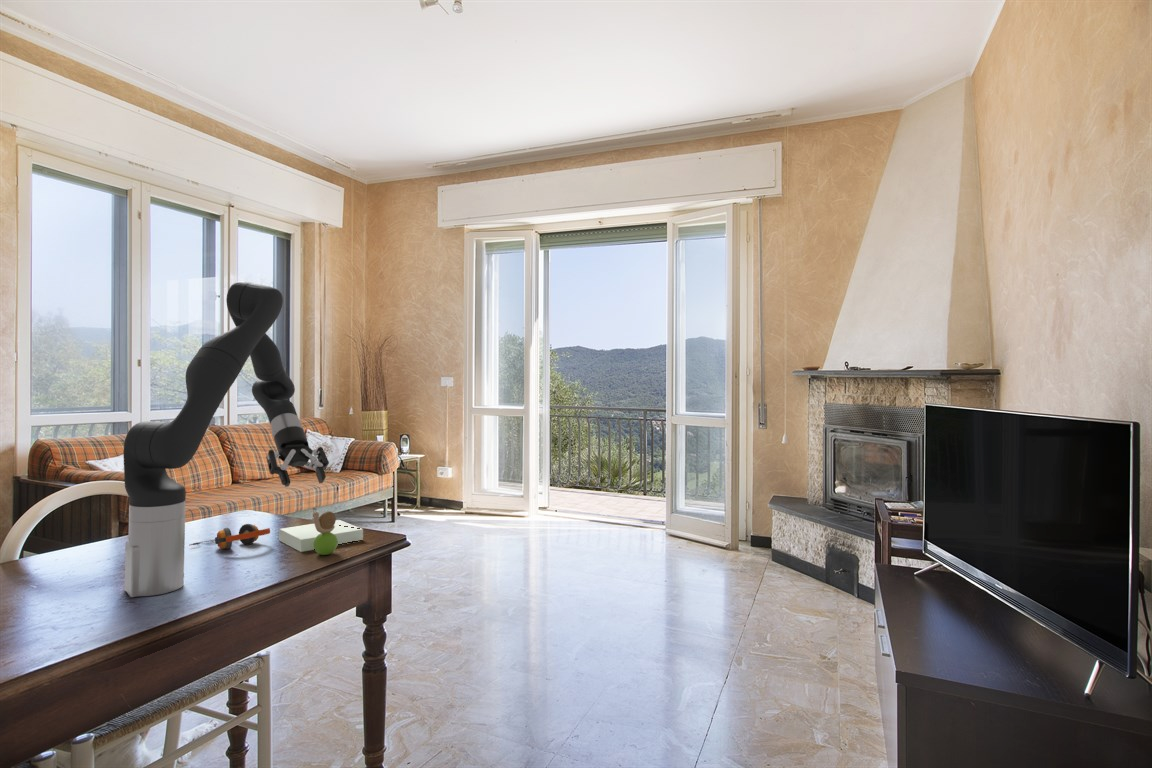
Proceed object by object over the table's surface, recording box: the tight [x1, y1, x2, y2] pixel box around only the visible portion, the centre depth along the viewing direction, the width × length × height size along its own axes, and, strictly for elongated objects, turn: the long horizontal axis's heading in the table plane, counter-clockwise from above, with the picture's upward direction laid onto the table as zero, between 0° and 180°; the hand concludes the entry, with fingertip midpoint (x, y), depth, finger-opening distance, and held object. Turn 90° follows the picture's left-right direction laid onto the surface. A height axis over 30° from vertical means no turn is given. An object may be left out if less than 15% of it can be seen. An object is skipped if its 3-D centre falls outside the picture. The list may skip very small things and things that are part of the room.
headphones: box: [188, 523, 271, 550], centre depth 151 cm, size 16×5×20 cm
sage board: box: [278, 519, 364, 553], centre depth 157 cm, size 16×14×3 cm
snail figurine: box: [312, 507, 339, 556], centre depth 145 cm, size 5×6×12 cm
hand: (305, 483), depth 153 cm, fingers open, 8 cm apart
